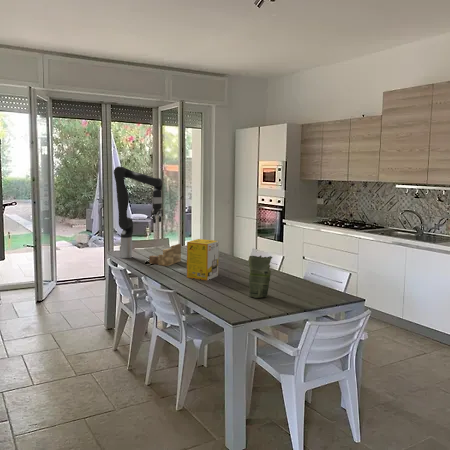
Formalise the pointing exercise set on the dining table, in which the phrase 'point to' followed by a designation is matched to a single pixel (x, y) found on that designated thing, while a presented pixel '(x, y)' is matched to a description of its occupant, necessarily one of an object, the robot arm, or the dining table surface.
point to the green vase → (259, 276)
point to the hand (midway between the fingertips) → (157, 222)
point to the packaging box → (202, 259)
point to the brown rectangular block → (154, 259)
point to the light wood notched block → (170, 255)
